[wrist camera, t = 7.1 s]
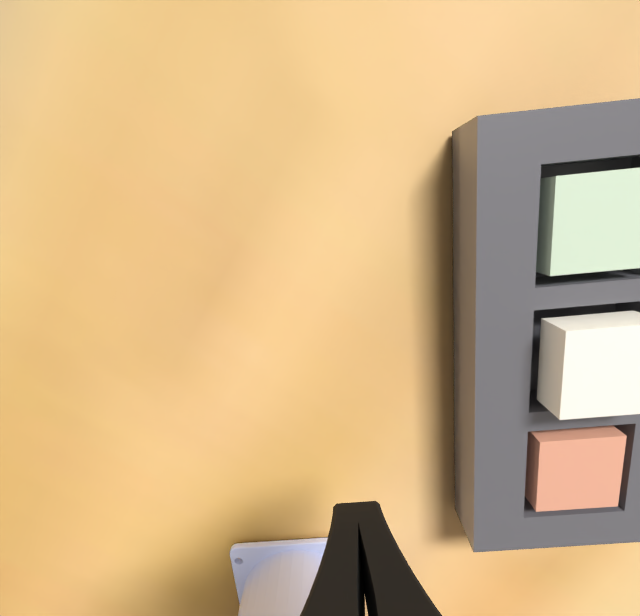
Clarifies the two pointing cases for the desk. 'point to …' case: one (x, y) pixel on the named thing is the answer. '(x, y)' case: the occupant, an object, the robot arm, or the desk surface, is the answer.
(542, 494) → the terracotta key
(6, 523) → the desk surface
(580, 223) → the sage key
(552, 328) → the cream key
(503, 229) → the keypad
